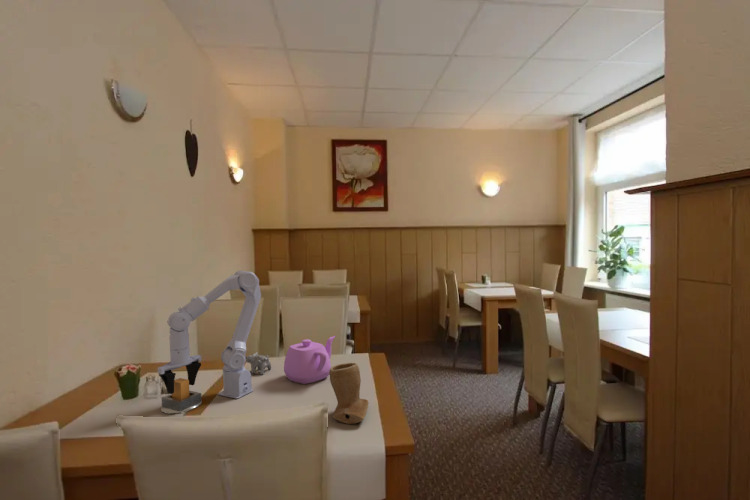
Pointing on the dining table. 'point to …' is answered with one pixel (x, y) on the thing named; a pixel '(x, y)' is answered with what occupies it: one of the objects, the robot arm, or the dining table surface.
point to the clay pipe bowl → (348, 393)
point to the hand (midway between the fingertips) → (181, 388)
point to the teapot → (308, 361)
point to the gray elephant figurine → (258, 362)
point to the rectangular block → (181, 389)
